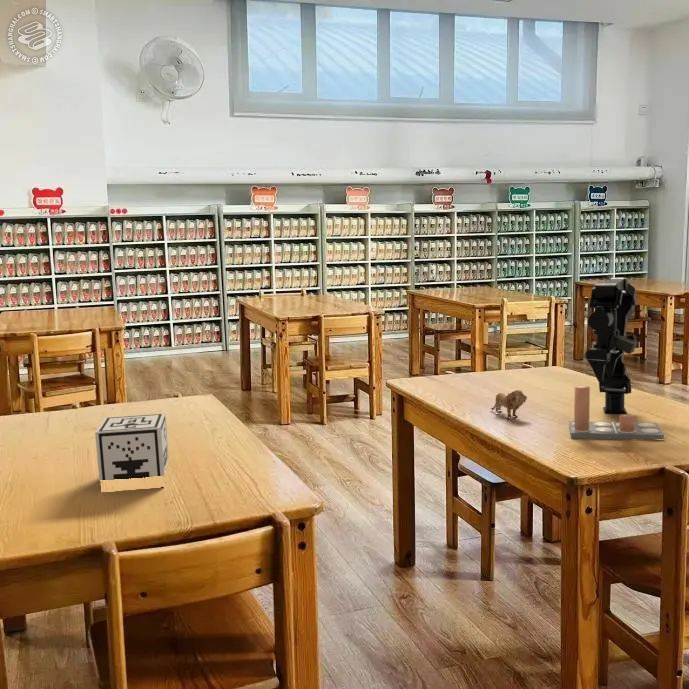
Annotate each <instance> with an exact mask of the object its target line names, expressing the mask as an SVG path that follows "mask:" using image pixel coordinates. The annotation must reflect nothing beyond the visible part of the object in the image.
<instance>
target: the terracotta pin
mask: <svg viewBox="0 0 689 689" xmlns="http://www.w3.org/2000/svg"><path fill="white" fill-rule="evenodd" d="M590 388H591V387H590V386H589V385H575V386H574V415H573V416H574V417H573V419H574V420H573V421H574V429H575V430H578V431H588V430H589V422H590V405H591V404H590V400H591V399H590V398H591V397H590V396H591V395H590V394H591V393H590V391H591V390H590Z"/></svg>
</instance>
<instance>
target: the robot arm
mask: <svg viewBox="0 0 689 689" xmlns="http://www.w3.org/2000/svg"><path fill="white" fill-rule="evenodd" d="M637 304H638V295H637V291H636V288H635V286H633V285H632V284H631V283H629V281H628V277H627V278H626V277H612V278H609V280H608V281H607V282H606V283H595V284H594V286H593V287H592V289H591V294H590V301H589V306H588V308H589V309H594V311H593V312H592V313H591V314H590V315H589V317H588V320H587V321H588V325H589V327H590V329H592V330H593V335H595V343H594V344H593V345H592V346H593V347H591V348H589V349H587V350H586V351H585V352H584V354H585V355H584V357H585V360H586V362H588V363H589V365H590V368H591V369H592V371H593V374H594V376H595V377H596V380H597V382H598V386H599V388H598V389H599V393H605V395H604V406H603V407H602V409H603V412H604V413H605V414H628V413H627V412H628V411H627V410H626V408H625V396H626V395H628V394H632V382H631V379H630V375H629V374H628V370H627V368H626V366H625V364H624V360H625V359H624V356H625V353H626V354H627V355H631V354H632V353H634V352H635V349H636V347H637V346H638V340H637V337H636V335H634V334H628V335H627V330H628V329H627V328H628V320H629V319H630V317H631V316H632V315H633V313H634V312H635V307H636V306H637Z"/></svg>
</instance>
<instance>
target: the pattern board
mask: <svg viewBox="0 0 689 689" xmlns="http://www.w3.org/2000/svg"><path fill="white" fill-rule="evenodd" d="M618 419H619V421H616V422H615V421H589V430H588V431H578V430H575V429H574V420H573V421H572V420H570V421H568V428H569V433H570V438H571V439H589V440H590V439H594V440H628V439H664V438H665V435H664V433H663V431H662V429H661V428H660V426H659V425H658V423H657V422H636V421H635V420H636V416H635V415H634V414H628V413H621V414H620V415H619V418H618Z"/></svg>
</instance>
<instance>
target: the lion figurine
mask: <svg viewBox="0 0 689 689" xmlns="http://www.w3.org/2000/svg"><path fill="white" fill-rule="evenodd" d="M527 400H528V397H527V395H525V394H524V393H523V390H521V389H516V390H514V391H511V392H510V393H509V392H508V394H507V395H506V394H505V393H503V392H498V393H497V394H496V395H495V404H494V405H493V407H491V408H490V409H492V410H491V411H494V410H495V413H496V412H497V413H499V411H498V410H502V408H505V409H506V411H507V418H508V417H510V418H512V417H513V416H515V417H514V418H517V417H518V415H517V414H516V412H517V410H519V408H520V407H521V406H522V405H524V404H525V403H526V401H527ZM511 410H512V411H511ZM511 413H512V415H511ZM516 416H517V417H516ZM512 419H513V418H512Z"/></svg>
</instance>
